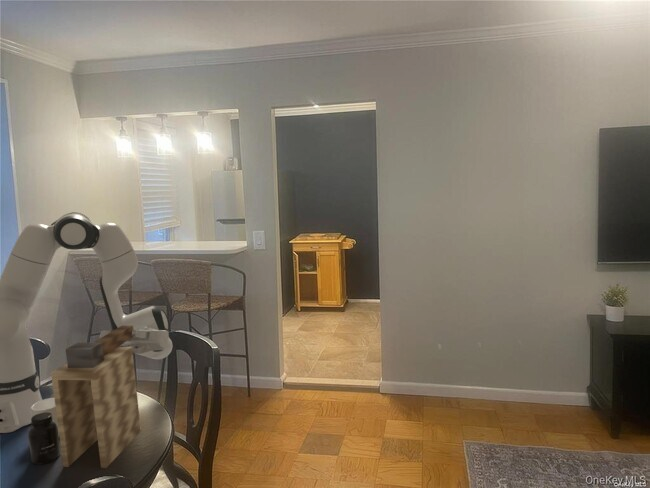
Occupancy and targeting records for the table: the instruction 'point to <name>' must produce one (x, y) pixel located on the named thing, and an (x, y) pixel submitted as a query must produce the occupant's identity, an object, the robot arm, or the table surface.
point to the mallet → (97, 348)
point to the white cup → (45, 408)
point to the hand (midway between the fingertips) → (121, 332)
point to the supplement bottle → (43, 439)
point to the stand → (97, 407)
